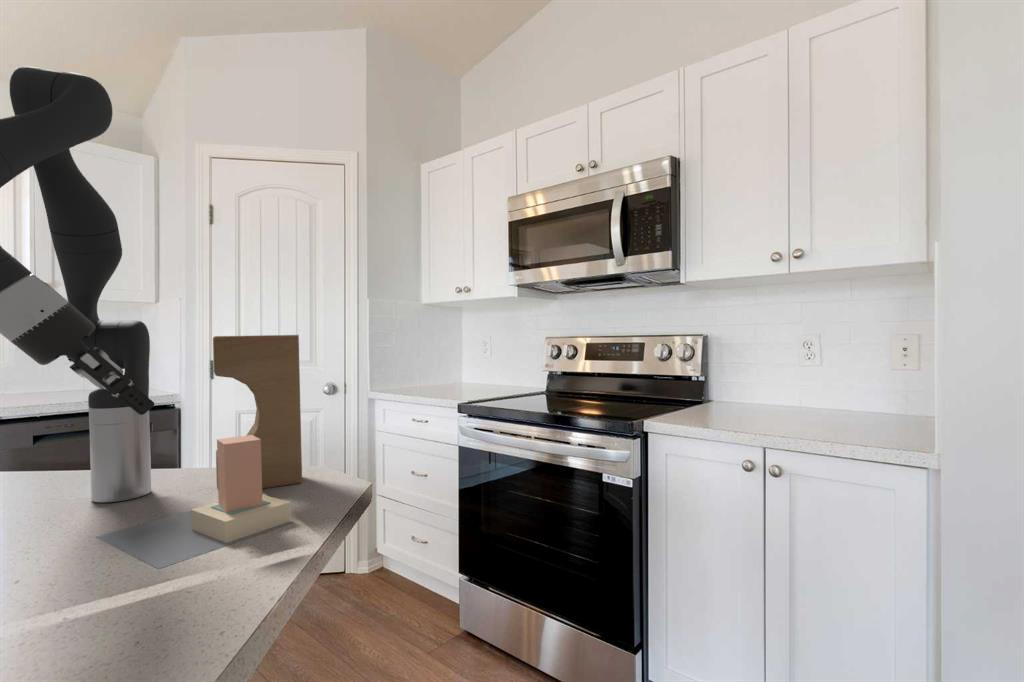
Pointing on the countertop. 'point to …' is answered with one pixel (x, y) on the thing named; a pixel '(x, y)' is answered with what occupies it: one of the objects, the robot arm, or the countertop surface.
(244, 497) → the terracotta block
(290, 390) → the decorative block
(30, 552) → the countertop surface
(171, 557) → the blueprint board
